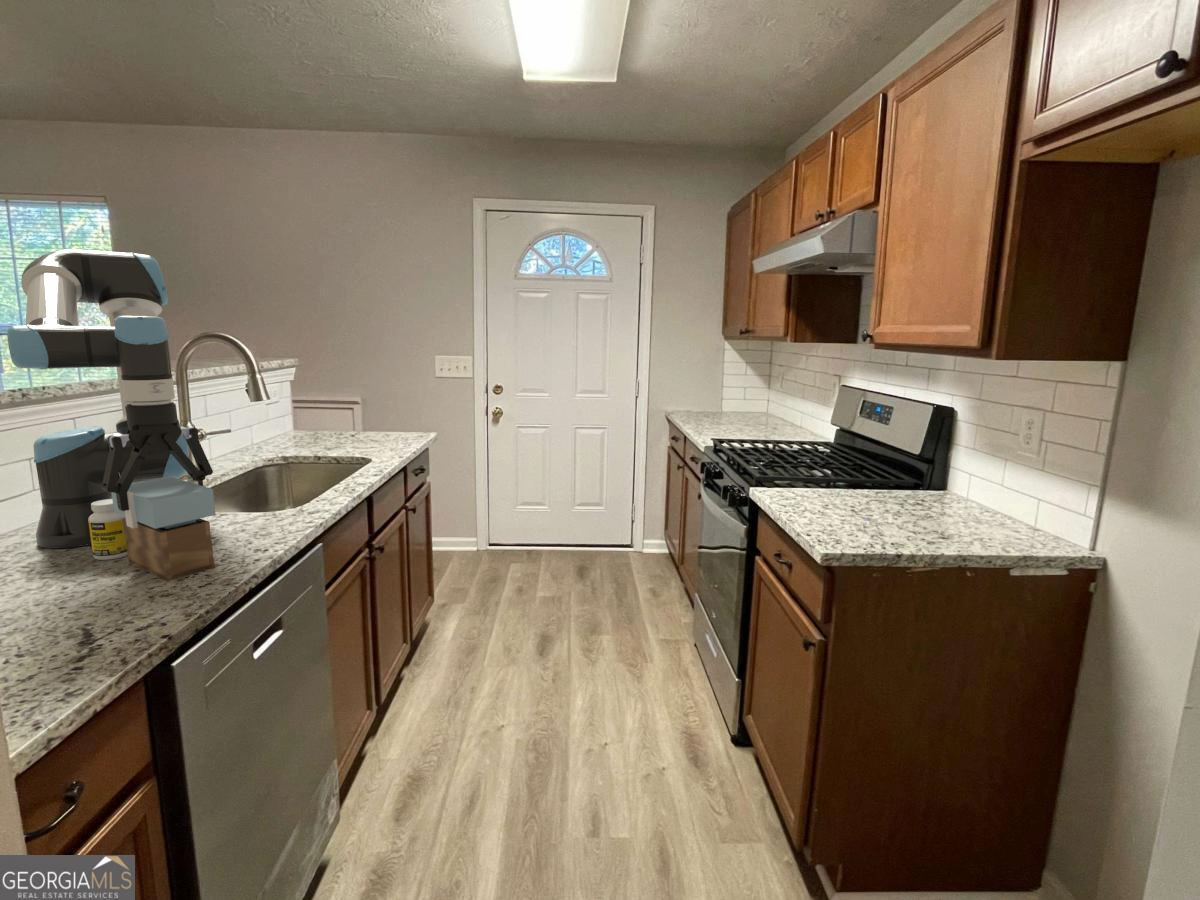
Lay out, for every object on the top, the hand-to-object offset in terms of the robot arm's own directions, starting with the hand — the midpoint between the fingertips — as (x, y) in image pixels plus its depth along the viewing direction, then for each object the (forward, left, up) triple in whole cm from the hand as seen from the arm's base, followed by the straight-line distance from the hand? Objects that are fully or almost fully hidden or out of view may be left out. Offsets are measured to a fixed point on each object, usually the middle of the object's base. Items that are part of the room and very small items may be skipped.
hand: (165, 519), depth 116 cm
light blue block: (0, 0, 0) cm, 0 cm away
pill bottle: (-15, -4, -9) cm, 18 cm away
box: (0, 0, -9) cm, 9 cm away
